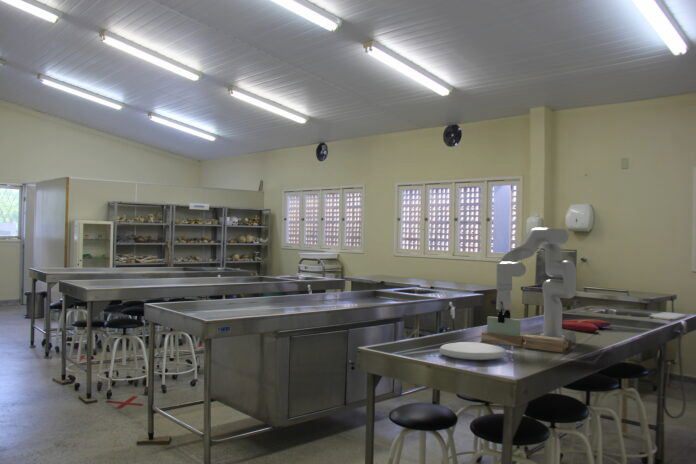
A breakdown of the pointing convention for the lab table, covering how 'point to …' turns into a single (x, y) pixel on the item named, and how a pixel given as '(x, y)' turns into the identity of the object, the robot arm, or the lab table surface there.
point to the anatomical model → (585, 325)
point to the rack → (547, 343)
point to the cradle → (501, 339)
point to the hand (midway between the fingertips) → (504, 321)
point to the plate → (472, 351)
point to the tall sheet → (503, 326)
